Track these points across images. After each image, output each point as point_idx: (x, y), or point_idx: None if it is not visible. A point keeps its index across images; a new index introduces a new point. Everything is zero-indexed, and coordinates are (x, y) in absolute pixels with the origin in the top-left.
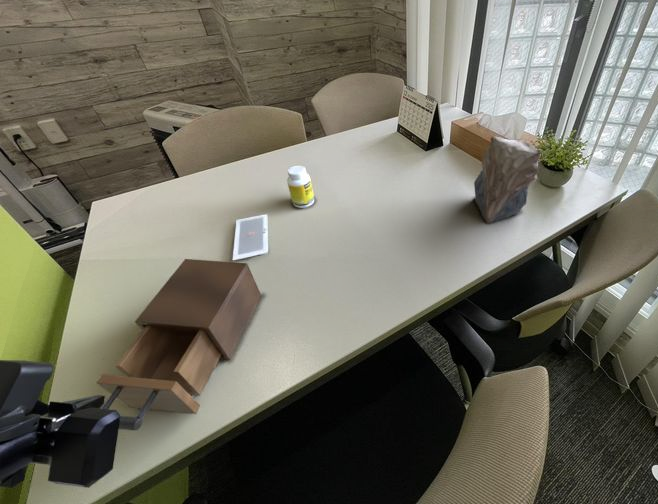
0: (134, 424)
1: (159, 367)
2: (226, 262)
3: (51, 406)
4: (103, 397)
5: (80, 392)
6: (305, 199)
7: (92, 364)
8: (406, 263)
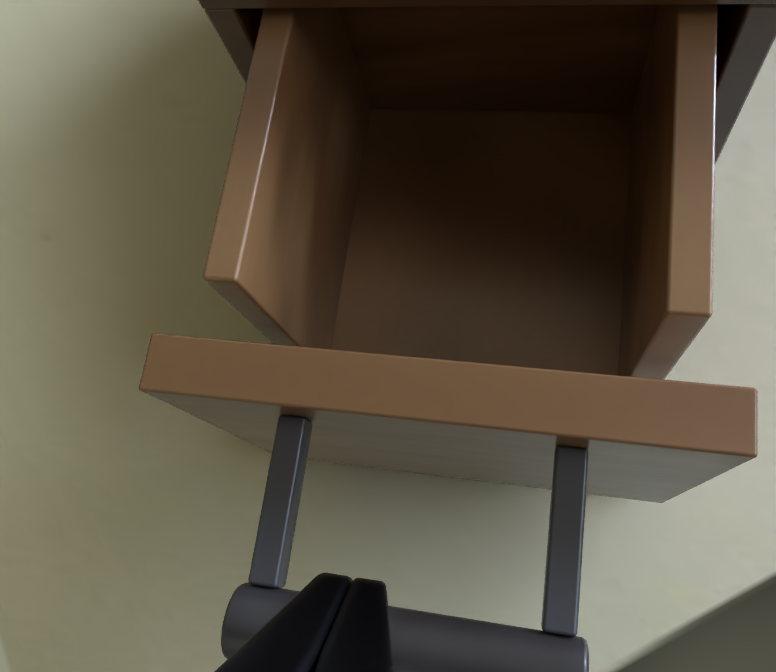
0: None
1: (351, 271)
2: None
3: None
4: (384, 601)
5: (21, 381)
6: None
7: (11, 262)
8: None
